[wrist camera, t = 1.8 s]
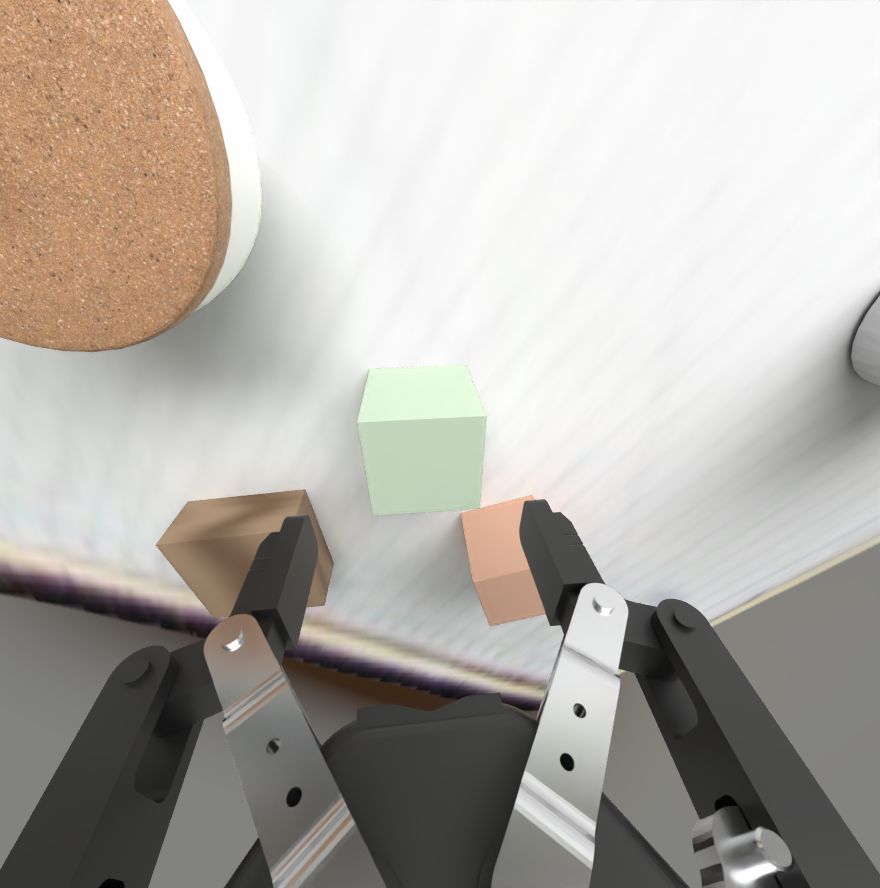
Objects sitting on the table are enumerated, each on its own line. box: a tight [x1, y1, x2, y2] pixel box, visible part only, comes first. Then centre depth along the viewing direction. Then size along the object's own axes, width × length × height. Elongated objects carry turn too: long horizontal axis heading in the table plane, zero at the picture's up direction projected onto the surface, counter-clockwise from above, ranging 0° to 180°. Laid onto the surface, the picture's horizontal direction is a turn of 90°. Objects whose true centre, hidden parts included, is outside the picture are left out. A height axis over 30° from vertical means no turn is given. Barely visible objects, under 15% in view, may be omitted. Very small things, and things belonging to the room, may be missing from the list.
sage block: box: [357, 365, 486, 516], centre depth 19 cm, size 6×6×6 cm
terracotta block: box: [461, 495, 546, 626], centre depth 25 cm, size 6×6×6 cm
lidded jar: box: [0, 0, 262, 352], centre depth 10 cm, size 11×11×9 cm
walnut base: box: [156, 490, 333, 618], centre depth 25 cm, size 8×8×4 cm
